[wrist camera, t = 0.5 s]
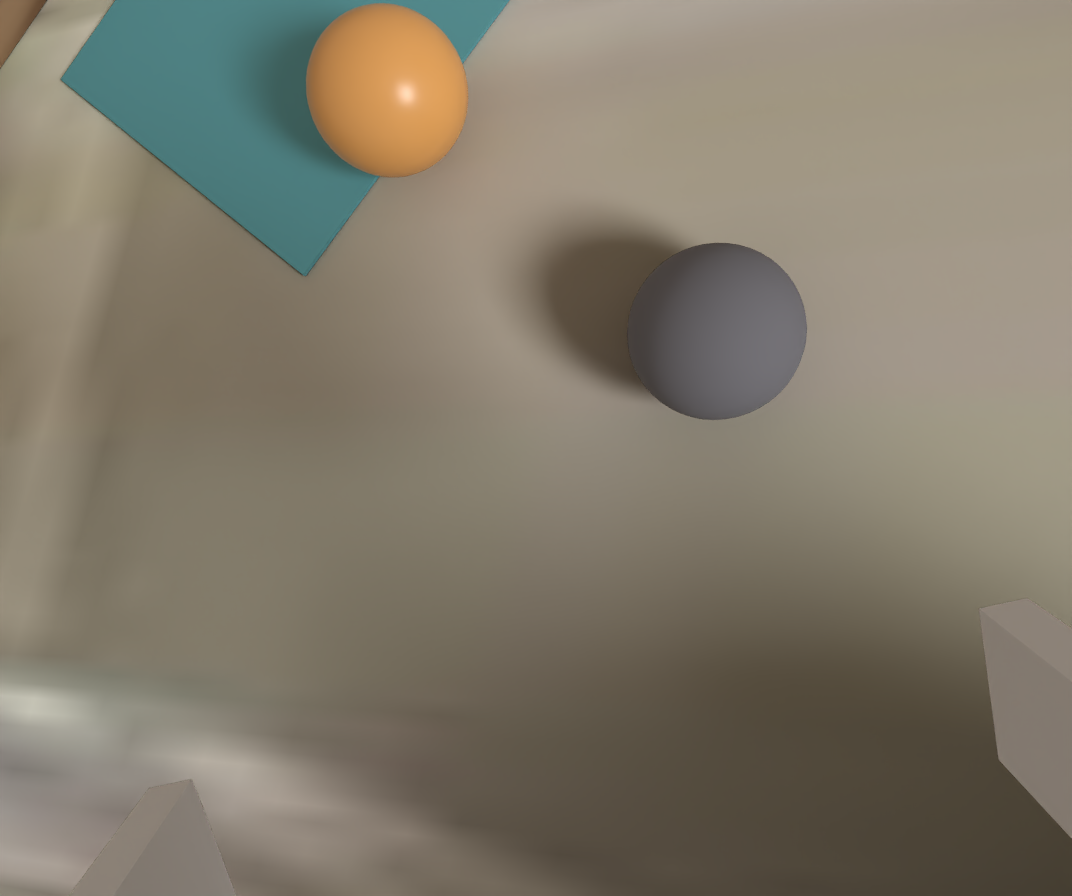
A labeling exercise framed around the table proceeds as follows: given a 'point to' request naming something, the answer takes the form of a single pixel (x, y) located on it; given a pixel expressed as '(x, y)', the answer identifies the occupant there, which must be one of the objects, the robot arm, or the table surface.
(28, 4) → the stopper wall
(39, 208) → the table surface
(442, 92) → the orange ball
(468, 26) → the teal mark
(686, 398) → the charcoal ball
